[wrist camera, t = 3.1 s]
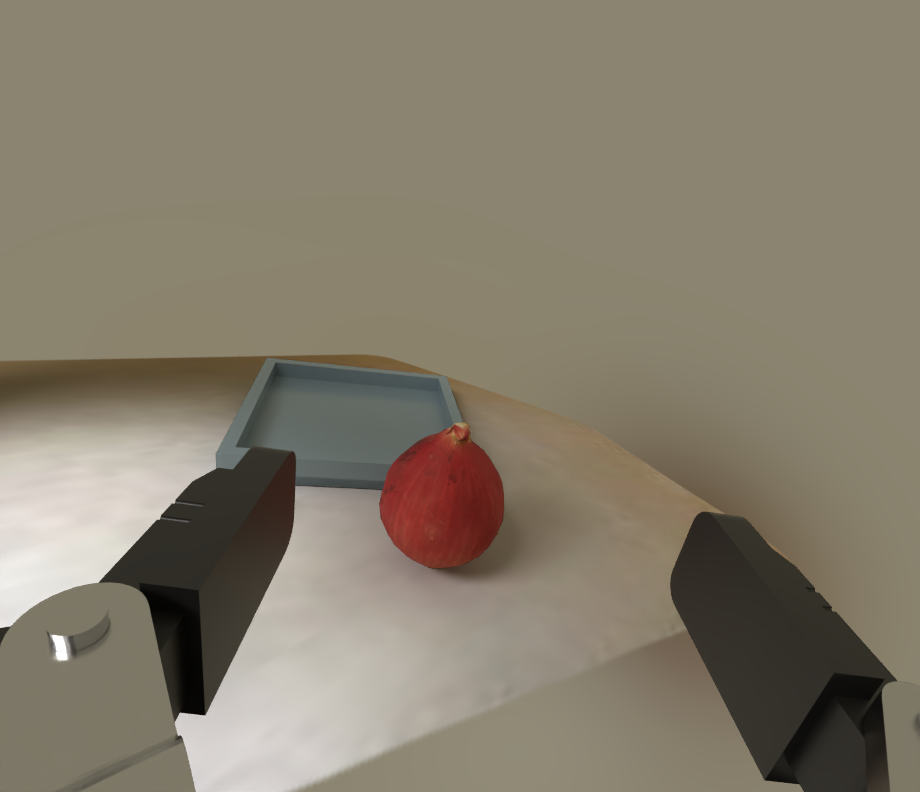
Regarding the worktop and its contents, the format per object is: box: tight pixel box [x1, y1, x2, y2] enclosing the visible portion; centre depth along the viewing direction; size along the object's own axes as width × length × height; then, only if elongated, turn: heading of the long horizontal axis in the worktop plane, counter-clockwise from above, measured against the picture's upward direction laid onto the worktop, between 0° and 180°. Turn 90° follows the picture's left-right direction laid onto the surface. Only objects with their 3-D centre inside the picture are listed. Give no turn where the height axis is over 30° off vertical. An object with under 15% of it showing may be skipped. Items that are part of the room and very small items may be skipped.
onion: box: [379, 422, 504, 568], centre depth 23 cm, size 6×6×8 cm
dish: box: [216, 358, 463, 489], centre depth 36 cm, size 15×15×2 cm
